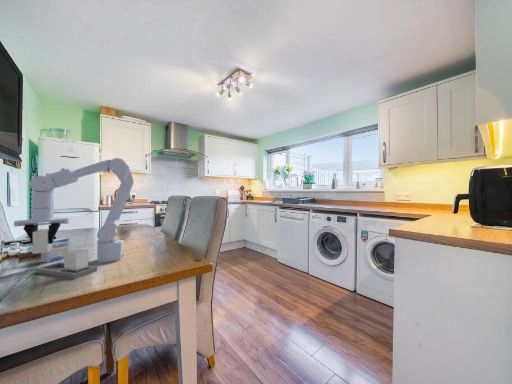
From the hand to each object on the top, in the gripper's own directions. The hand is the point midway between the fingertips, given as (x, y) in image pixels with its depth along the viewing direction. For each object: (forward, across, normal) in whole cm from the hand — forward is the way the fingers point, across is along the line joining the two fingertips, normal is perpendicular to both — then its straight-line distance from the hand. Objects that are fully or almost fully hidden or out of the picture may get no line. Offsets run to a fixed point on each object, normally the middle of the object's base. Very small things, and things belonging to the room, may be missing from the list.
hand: (42, 243), depth 79 cm
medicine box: (+10, -1, -14) cm, 17 cm away
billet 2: (+9, -12, +14) cm, 20 cm away
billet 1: (+3, 0, 0) cm, 3 cm away
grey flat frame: (+10, -9, +10) cm, 17 cm away
